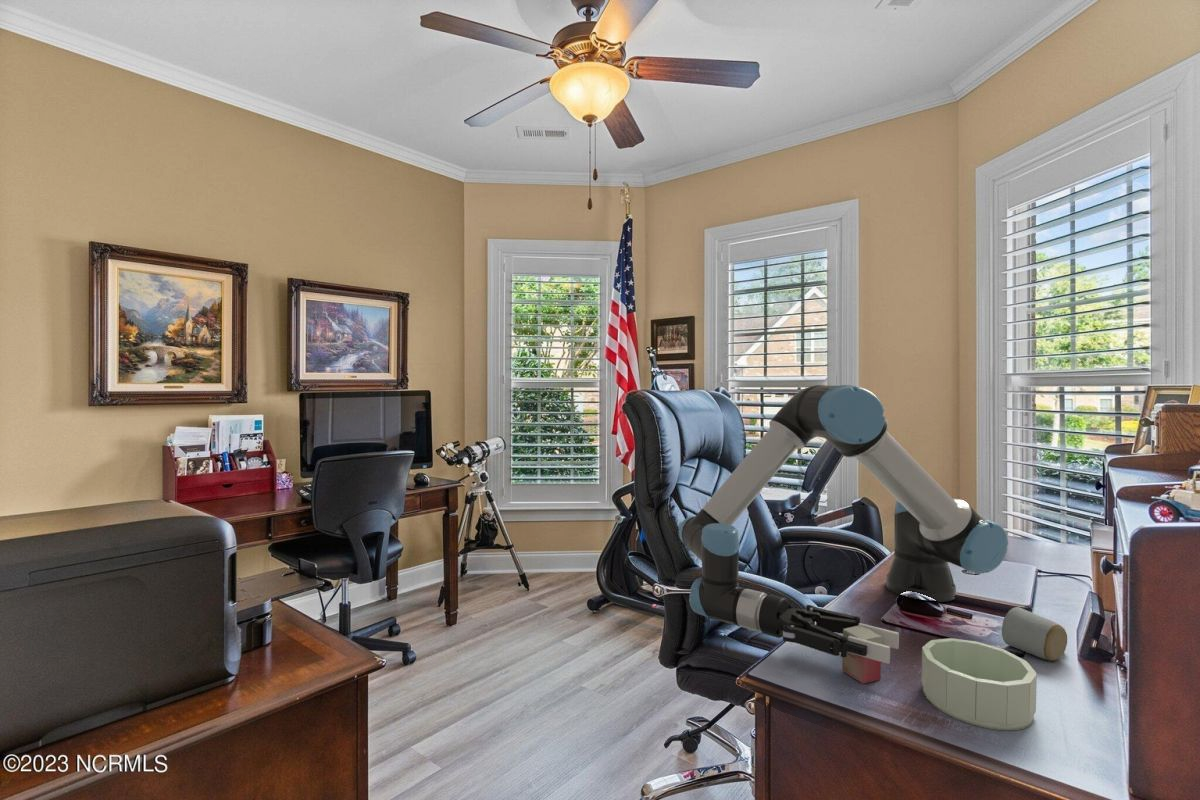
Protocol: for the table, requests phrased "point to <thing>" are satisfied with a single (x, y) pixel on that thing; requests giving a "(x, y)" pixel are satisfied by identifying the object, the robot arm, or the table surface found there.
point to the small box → (859, 665)
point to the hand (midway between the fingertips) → (893, 647)
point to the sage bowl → (979, 684)
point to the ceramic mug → (1034, 634)
